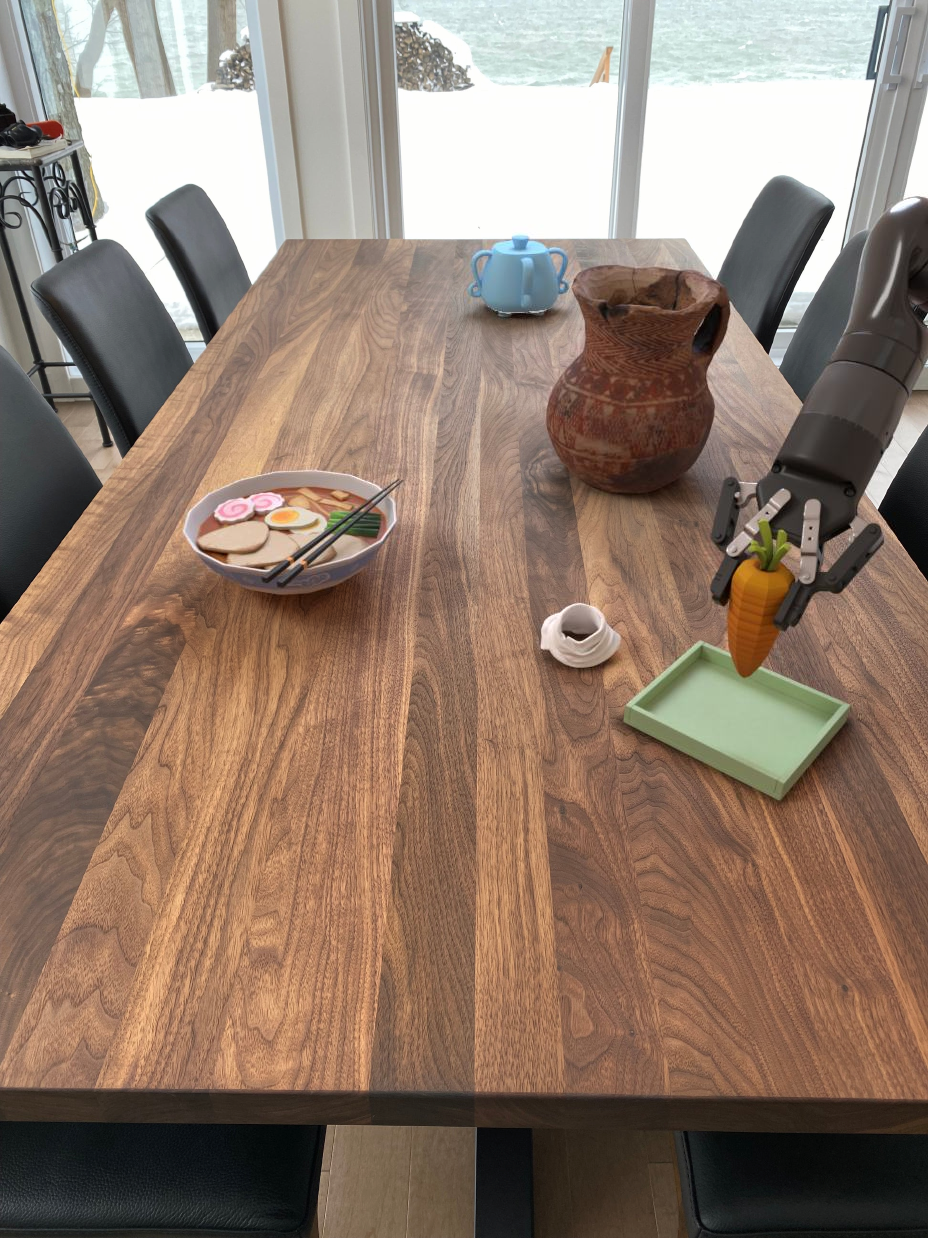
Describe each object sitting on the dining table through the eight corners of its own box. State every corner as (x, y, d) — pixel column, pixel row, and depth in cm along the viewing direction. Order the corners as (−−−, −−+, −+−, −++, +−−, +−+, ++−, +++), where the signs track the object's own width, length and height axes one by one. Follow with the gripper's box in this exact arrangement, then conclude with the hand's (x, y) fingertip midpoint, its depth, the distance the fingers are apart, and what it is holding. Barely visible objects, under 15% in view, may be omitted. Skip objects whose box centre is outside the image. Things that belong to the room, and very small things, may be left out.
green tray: (846, 722, 88) (850, 704, 87) (779, 801, 80) (784, 783, 79) (696, 656, 96) (699, 639, 95) (623, 722, 88) (625, 705, 87)
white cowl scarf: (615, 639, 100) (623, 597, 98) (621, 674, 94) (629, 630, 92) (538, 631, 100) (543, 589, 98) (539, 666, 94) (545, 622, 92)
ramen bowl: (281, 505, 122) (274, 445, 118) (441, 548, 114) (440, 484, 109) (141, 602, 104) (126, 535, 99) (318, 662, 95) (311, 591, 91)
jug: (639, 526, 118) (663, 319, 104) (510, 473, 130) (516, 281, 116) (736, 468, 131) (769, 278, 117) (610, 425, 143) (626, 247, 129)
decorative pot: (577, 309, 190) (582, 235, 182) (522, 327, 180) (525, 251, 172) (514, 292, 199) (517, 222, 191) (459, 309, 189) (459, 235, 182)
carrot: (775, 697, 83) (811, 545, 74) (716, 692, 84) (744, 540, 75) (770, 662, 87) (803, 514, 78) (713, 657, 88) (739, 509, 79)
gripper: (751, 389, 81) (658, 570, 80) (926, 436, 73) (824, 636, 73) (769, 429, 87) (683, 597, 87) (931, 475, 80) (838, 661, 79)
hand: (748, 614), depth 80 cm, fingers closed on carrot, 5 cm apart
